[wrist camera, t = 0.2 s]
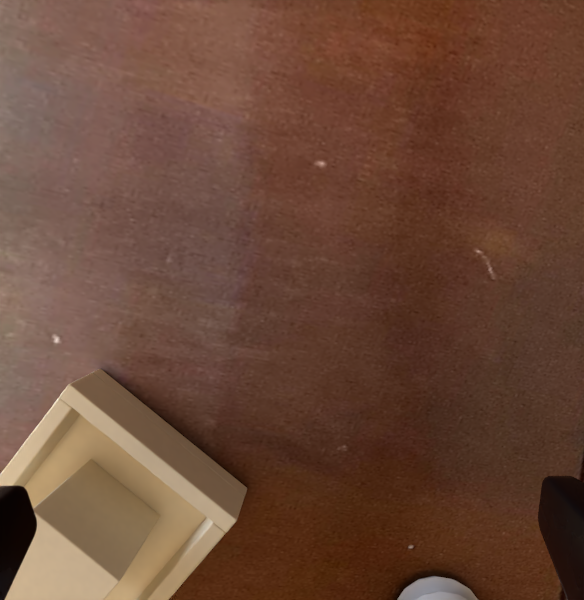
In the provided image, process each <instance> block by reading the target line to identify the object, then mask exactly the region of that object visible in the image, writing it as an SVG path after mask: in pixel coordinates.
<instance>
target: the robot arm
mask: <svg viewBox="0 0 584 600" xmlns="http://www.w3.org/2000/svg"><path fill="white" fill-rule="evenodd" d="M538 522H539V527H540V531H541V533H542V536H543V539H544V541H545V544H546V546H547V549H548V551H549V554H550V556H551V559H552V561H553V564H554V567H555V569H556V572H557V574H558V577H559V579H560V582H561V584H562V587H563V590H564V592H565V595H566V597H567V600H584V483H583V482H581V481H580V480H578V479H576V478H574V477H572V476H548V477H546V478H545V479H544V480H543V483H542V488H541V496H540V504H539V512H538ZM36 530H37V519H36V516H35V513H34V510H33V507H32V504H31V501H30V498H29V495H28V492H27V490H26V489H25V488H24V487H23V486H19V485H13V486H0V600H5V598H6V596H7V594H8V592H9V589H10V587H11V585H12V583H13V581H14V579H15V577H16V575H17V572H18V570H19V568H20V566H21V564H22V562H23V560H24V558H25V555H26V553H27V551H28V549H29V547H30V545H31V543H32V541H33V538H34V536H35V533H36Z"/></svg>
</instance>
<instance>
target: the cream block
mask: <svg viewBox="0 0 584 600" xmlns="http://www.w3.org/2000/svg"><path fill="white" fill-rule="evenodd" d="M33 510H34V513H35V516H36V519H37V530H36V533H35V536H34V538H33V541H32V543H31V545H30V547H29V549H28V551H27V553H26V555H25V558H24V560H23V562H22V564H21V566H20V568H19V570H18V572H17V575H16V577H15V579H14V581H13V583H12V585H11V587H10V589H9V592H8V594H7V596H6V598H5V600H104V599H105V598H106V597H107V596H108V595H109V594H110V592H111V591H112V590H113V589H114V588H115V586H116V585H117V584H118V583H119V582H120V580H121V578H122V577H123V575H124V574H125V572H126V571H127V569H128V567H129V566H130V564H131V563H132V561H133V559H134V558H135V556H136V555H137V553H138V552H139V550H140V548H141V547H142V545H143V544H144V542H145V540H146V539H147V537H148V536H149V534H150V532H151V531H152V529H153V528H154V526H155V525H156V523H157V521H158V520H159V518H160V515H159V514H158V513H157V512H156V511H154V510H153V509H152V508H151V507H149V506H148V505H147V504H146V503H144V502H143V501H142V500H141V499H140V498H138V497H137V496H136V495H135V494H133V493H132V492H131V491H130V490H128V489H127V488H126V487H125V486H124V485H122V484H121V483H120V482H119V481H117V480H116V479H115V478H114V477H112V476H111V475H110V474H109V473H108V472H106V471H105V470H104V469H103V468H101V467H100V466H99V465H98V464H96V463H95V462H94V461H93V460H92V459H90V460H89V461H88V462H86V463H85V464H84V465H83V466H82V467H81V468H79V469H78V470H77V471H76V472H75V473H74V474H72V475H71V476H70V477H69V478H68V479H67V480H65V481H64V482H63V483H62V484H61V485H60V486H59V487H57V488H56V489H55V490H54V491H53V492H52V493H50V494H49V495H48V496H47V497H46V498H45V499H43V500H42V501H41V502H40V503H39V504H38V505H36V506H35V507H34V508H33Z"/></svg>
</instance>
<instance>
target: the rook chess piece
mask: <svg viewBox="0 0 584 600" xmlns="http://www.w3.org/2000/svg"><path fill="white" fill-rule="evenodd" d="M397 600H478V599H477V598H476V596H475V595H474V594H473V593H472V591H471V590H470V589H469V588H467V587H466V586H464V585H462V584H461V583H459V582H457V581H455V580H453V579H449V578H443V577H437V576H431V577H426V578H421V579H418V580H416V581H415V582H413V583H412V584H410V585H409V586H407V587H406V588H405V589H404V590H403V592H402V593H401V595H400V596H399V598H398V599H397Z"/></svg>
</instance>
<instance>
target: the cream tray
mask: <svg viewBox="0 0 584 600" xmlns="http://www.w3.org/2000/svg"><path fill="white" fill-rule="evenodd" d="M90 459H92V460H93V461H94V462H95V463H96V464H98V465H99V466H100V467H101V468H103V469H104V470H105V471H106V472H108V473H109V474H110V475H111V476H112V477H114V478H115V479H116V480H117V481H119V482H120V483H121V484H122V485H124V486H125V487H126V488H127V489H128V490H130V491H131V492H132V493H133V494H135V495H136V496H137V497H138V498H140V499H141V500H142V501H143V502H144V503H146V504H147V505H148V506H149V507H151V508H152V509H153V510H154V511H156V512H157V513H158V514H159V515H160V518H159V520H158V521H157V523H156V525H155V526H154V528H153V529H152V531H151V532H150V534H149V536H148V537H147V539H146V540H145V542H144V544H143V545H142V547H141V548H140V550H139V552H138V553H137V555H136V556H135V558H134V559H133V561H132V563H131V564H130V566H129V567H128V569H127V571H126V572H125V574H124V575H123V577H122V578H121V580H120V582H119V583H118V584H117V585H116V586H115V588H114V589H113V590H112V591H111V592H110V594H109V595H108V596H107V597H106V598H105V599H104V600H169V599H170V597H171V596H172V595H173V594H174V593H175V592H176V591H177V589H178V588H179V587H180V586H181V585H182V584H183V582H184V581H185V580H186V579H187V578H188V577H189V575H190V574H191V573H192V572H193V571H194V570H195V569H196V567H197V566H198V565H199V564H200V563H201V562H202V560H203V559H204V558H205V557H206V556H207V555H208V553H209V552H210V551H211V550H212V549H213V548H214V547H215V545H216V544H217V543H218V542H219V541H220V540H221V538H222V537H223V536H224V535H225V534H226V532H228V531H229V529H230V528H231V527H232V526H233V525H234V524H235V523H236V521H237V519H238V516H239V513H240V510H241V507H242V504H243V501H244V497H245V495H246V492H247V487H245V486H244V485H243V484H242V483H241V482H239V481H238V480H237V479H236V478H234V477H233V476H232V475H231V474H229V473H228V472H227V471H226V470H225V469H223V468H222V467H221V466H220V465H218V464H217V463H216V462H215V461H213V460H212V459H211V458H210V457H209V456H207V455H206V454H205V453H204V452H202V451H201V450H200V449H199V448H197V447H196V446H195V445H194V444H193V443H191V442H190V441H189V440H188V439H186V438H185V437H184V436H183V435H182V434H180V433H179V432H178V431H177V430H175V429H174V428H173V427H172V426H170V425H169V424H168V423H167V422H166V421H164V420H163V419H162V418H161V417H159V416H158V415H157V414H156V413H154V412H153V411H152V410H151V409H150V408H148V407H147V406H146V405H145V404H143V403H142V402H141V401H140V400H139V399H137V398H136V397H135V396H134V395H132V394H131V393H130V392H129V391H127V390H126V389H125V388H124V387H123V386H121V385H120V384H119V383H118V382H116V381H115V380H114V379H113V378H111V377H110V376H109V375H108V374H107V373H105V372H104V371H103V370H102V369H99V370H97V371H95V372H93V373H91V374H89V375H87V376H85V377H82V378H80V379H78V380H76V381H74V382H72V383H70V384H69V385H68V386H67V387H66V388H65V390H64V391H63V392H62V394H61V395H60V398H58V399H57V401H56V402H55V403H54V405H53V406H52V407H51V409H50V410H49V411H48V412H47V414H46V415H45V416H44V418H43V419H42V420H41V422H40V423H39V424H38V426H37V427H36V428H35V429H34V431H33V432H32V433H31V435H30V436H29V437H28V439H27V440H26V441H25V443H24V444H23V445H22V447H21V448H20V449H19V450H18V452H17V453H16V454H15V456H14V457H13V458H12V460H11V461H10V462H9V464H8V465H7V466H6V467H5V469H4V470H3V471H2V473H1V474H0V486H13V485H19V486H23V487H24V488H25V489H26V490H27V492H28V495H29V498H30V501H31V504H32V507H33V508H34V507H35V506H36V505H38V504H39V503H40V502H41V501H42V500H43V499H45V498H46V497H47V496H48V495H49V494H50V493H52V492H53V491H54V490H55V489H56V488H57V487H59V486H60V485H61V484H62V483H63V482H64V481H65V480H67V479H68V478H69V477H70V476H71V475H72V474H74V473H75V472H76V471H77V470H78V469H79V468H81V467H82V466H83V465H84V464H85V463H86V462H88V461H89V460H90Z"/></svg>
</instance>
